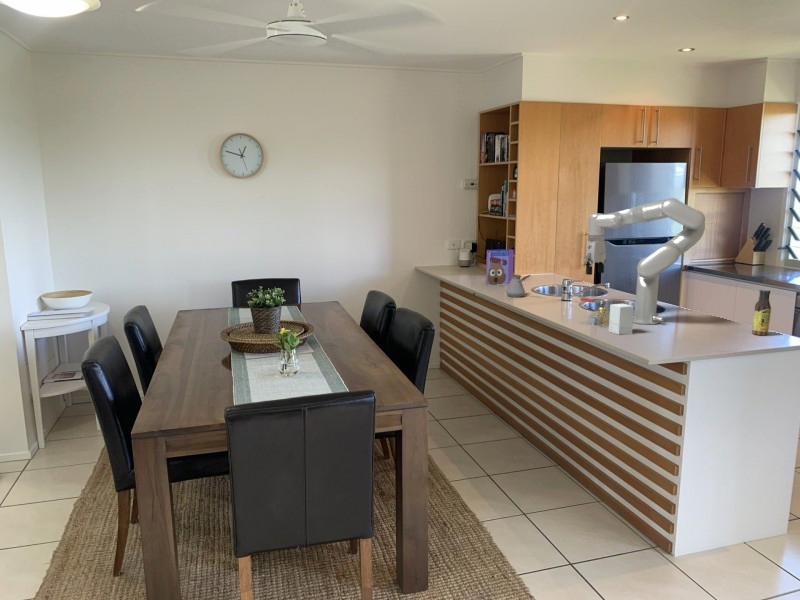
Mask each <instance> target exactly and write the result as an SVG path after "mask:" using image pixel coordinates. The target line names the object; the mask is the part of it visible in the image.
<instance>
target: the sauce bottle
mask: <svg viewBox="0 0 800 600" xmlns="http://www.w3.org/2000/svg"><path fill="white" fill-rule="evenodd" d="M770 294H771V290H770V289H759V296H758V297H759V298H758V301H757V302H756V303H755V306H754V311H753V319H752V326H751V331H752V332H751V334H752V335H756V336H767V335H768V334H769V328H770V323H771V322H770V321H771V313H772V308H771V307H772V306H771V302H770Z"/></svg>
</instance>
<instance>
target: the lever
mask: <svg viewBox="0 0 800 600" xmlns="http://www.w3.org/2000/svg"><path fill="white" fill-rule="evenodd" d="M580 302H585V303H592V304H593V303H594V304H598V305H600V307H605V305H606V303H607V301H606V300H600V299H596V298H595V299H594V298H588V297H580Z"/></svg>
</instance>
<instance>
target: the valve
mask: <svg viewBox="0 0 800 600" xmlns="http://www.w3.org/2000/svg"><path fill="white" fill-rule="evenodd" d="M606 309H607V307H605V306H604V307H601V306H598V310H593V314H589V316H588V318H587V320H585V321H580V322H578V324H579V325H585V326H591V327H596V328H602V329H603V328H605V327H606V328H607V327H609V318H610V310H606Z"/></svg>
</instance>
